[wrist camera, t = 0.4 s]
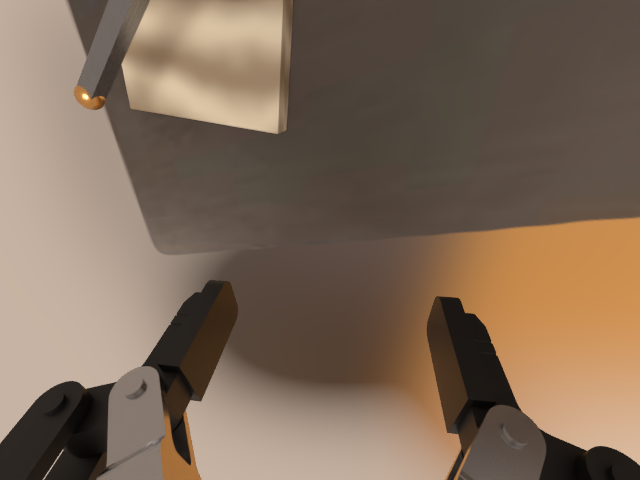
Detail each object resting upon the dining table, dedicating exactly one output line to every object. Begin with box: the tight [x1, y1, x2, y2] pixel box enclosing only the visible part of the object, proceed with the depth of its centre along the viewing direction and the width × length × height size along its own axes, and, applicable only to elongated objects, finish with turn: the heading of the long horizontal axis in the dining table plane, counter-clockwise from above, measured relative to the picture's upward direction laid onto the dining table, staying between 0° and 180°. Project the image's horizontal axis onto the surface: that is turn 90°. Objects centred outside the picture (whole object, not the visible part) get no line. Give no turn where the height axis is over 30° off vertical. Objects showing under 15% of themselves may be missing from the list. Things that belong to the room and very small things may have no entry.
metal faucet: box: [74, 0, 150, 110], centre depth 25 cm, size 23×8×9 cm, turn 133°
